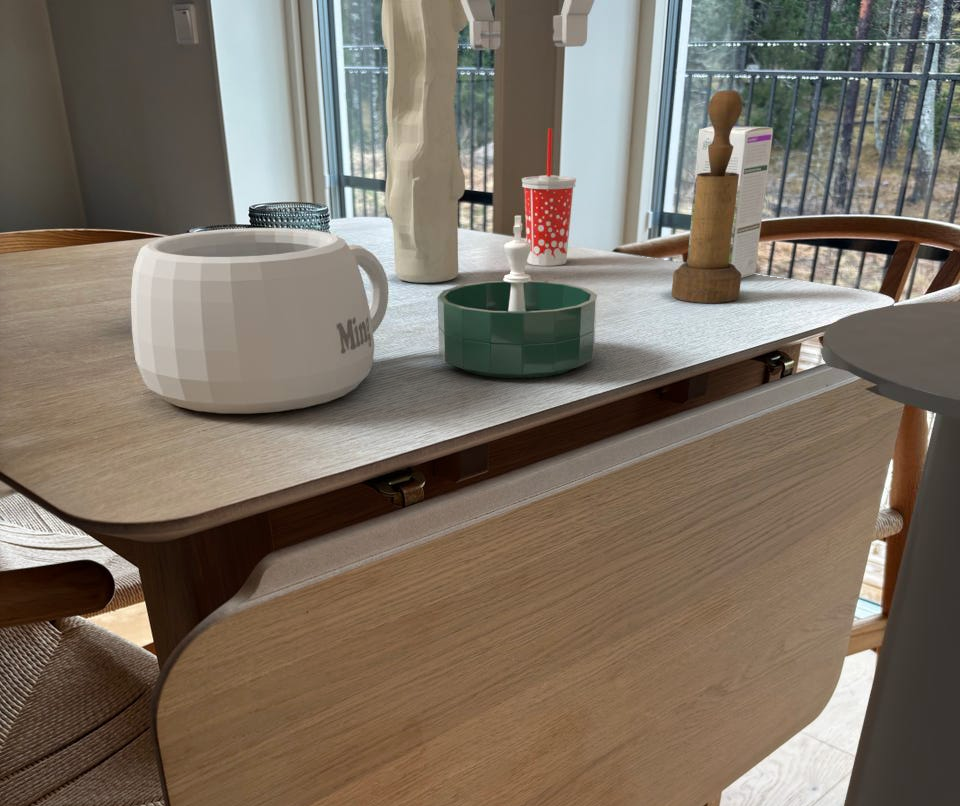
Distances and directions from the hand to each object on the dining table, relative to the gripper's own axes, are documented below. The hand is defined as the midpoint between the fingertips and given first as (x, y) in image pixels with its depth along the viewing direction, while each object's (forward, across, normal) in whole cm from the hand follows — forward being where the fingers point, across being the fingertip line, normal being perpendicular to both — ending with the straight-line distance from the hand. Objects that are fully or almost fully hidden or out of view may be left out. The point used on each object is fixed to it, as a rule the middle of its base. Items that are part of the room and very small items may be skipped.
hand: (525, 48), depth 68 cm
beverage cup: (+21, +31, -28) cm, 47 cm away
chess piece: (+21, -2, +2) cm, 21 cm away
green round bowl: (+21, -2, +2) cm, 21 cm away
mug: (+21, +4, +19) cm, 29 cm away
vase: (+21, +31, -11) cm, 39 cm away
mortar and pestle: (+22, +6, -28) cm, 36 cm away
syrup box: (+22, +13, -38) cm, 46 cm away
